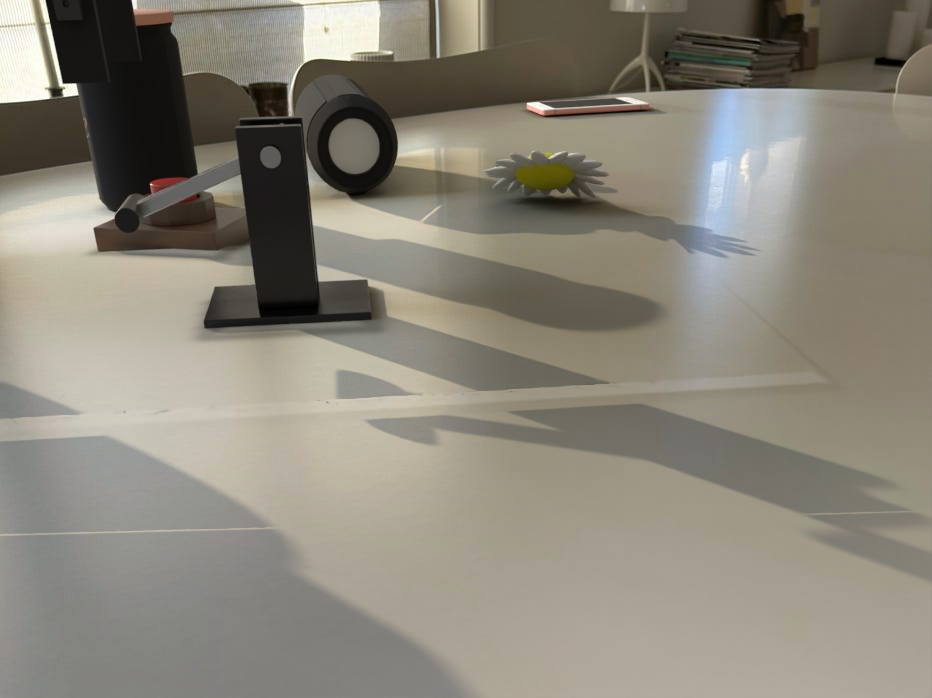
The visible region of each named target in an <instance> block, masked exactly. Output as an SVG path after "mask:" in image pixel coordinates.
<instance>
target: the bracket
mask: <svg viewBox="0 0 932 698" xmlns="http://www.w3.org/2000/svg"><path fill="white" fill-rule="evenodd" d="M281 123H284V125H279V124H281ZM238 124H239V125H236V126H235V128H234V135H235V141H236V149H237V156H238V158H239V166H240V173H241V174H240V180H241V187H242V196H243V203H244V204H243V205H244V208H245V211H246V219H247V226H248V234H249V239H248V242H249V248H250V249H249V250H250V257H251V265H252V272H253V279H254V284H243V285H241V284H240V285H221V286H220V285H219V286H214V288H213V289H212V294H211V297H210V298H209V299H210V300H209V303H208V305H207V309H206V311H205V315H204V318H203V329H220V328H221V329H222V328H237V327H239V328H240V327H258V326H259V327H260V326H279V325H296V324H297V325H298V324H316V323H318V324H319V323H333V322H334V323H335V322H336V323H339V322H355V321H356V322H357V321H372V320H373V316H372V307H371V297H370V289H369V281H368V279H367V278H365V279H346V280H343V279H342V280H326V281H325V280H323V281H319V273H318V272H319V271H318V263H317V251H316V241H315V232H314V230H315V229H314V221H313V212H312V211H313V210H312V200H311V192H310V191H311V190H310V182H309V181H310V180H309V171H308V161H307V153H306V149H305V139H304V129H303V119H302V116H295V115H289V116H288V115H287V116H286V115H285V116H258V117H257V116H256V117H255V116H253V117H240V118H239V120H238Z"/></svg>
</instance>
